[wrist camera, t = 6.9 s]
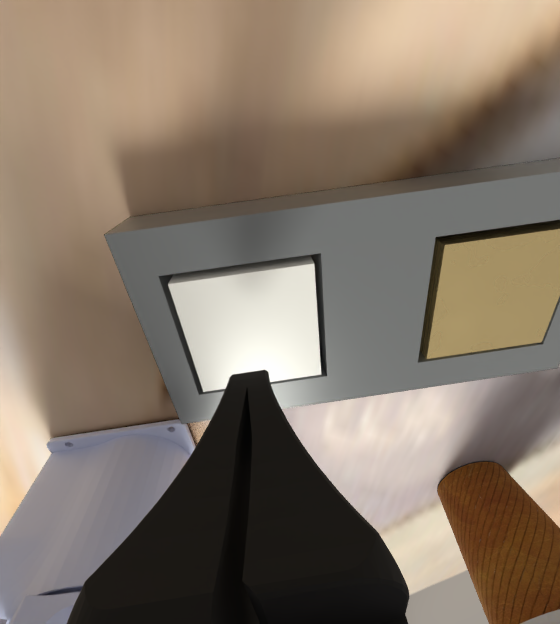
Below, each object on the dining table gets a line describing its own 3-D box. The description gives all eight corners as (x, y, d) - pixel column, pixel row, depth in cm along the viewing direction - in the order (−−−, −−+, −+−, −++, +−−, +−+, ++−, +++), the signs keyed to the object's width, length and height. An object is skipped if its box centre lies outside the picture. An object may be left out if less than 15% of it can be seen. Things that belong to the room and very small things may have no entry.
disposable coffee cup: (473, 437, 26) (626, 644, 15) (543, 464, 28) (711, 653, 18) (399, 498, 29) (481, 698, 19) (467, 517, 32) (570, 698, 22)
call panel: (190, 387, 20) (181, 424, 18) (129, 217, 15) (104, 234, 12) (518, 338, 21) (557, 368, 18) (580, 155, 15) (649, 159, 12)
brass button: (402, 328, 19) (426, 358, 16) (413, 227, 16) (444, 245, 13) (502, 314, 19) (541, 342, 17) (532, 210, 16) (586, 224, 13)
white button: (209, 356, 19) (203, 391, 16) (181, 259, 16) (167, 284, 13) (311, 341, 19) (321, 374, 16) (303, 242, 16) (314, 263, 13)
